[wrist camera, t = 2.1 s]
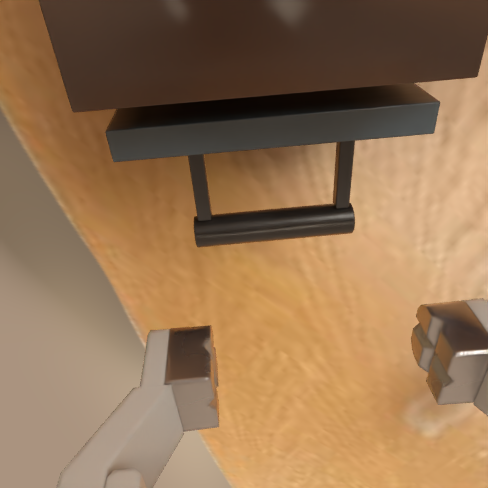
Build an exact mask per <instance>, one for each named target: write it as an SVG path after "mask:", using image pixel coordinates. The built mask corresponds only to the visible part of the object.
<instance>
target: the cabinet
mask: <svg viewBox="0 0 488 488" xmlns="http://www.w3.org/2000/svg"><path fill="white" fill-rule="evenodd" d="M39 3H40V6H41V10H42V13H43V16H44V20H45V23H46V26H47V29H48V33H49V36H50V39H51V43H52V46H53V49H54V53H55V56H56V59H57V62H58V66H59V69H60V72H61V76H62V79H63V82H64V85H65V89H66V92H67V95H68V99H69V102H70V105H71V108H72V111H73V112H85V111H96V110H108V109H119V108H131V107H142V106H154V105H165V104H177V103H188V102H199V101H211V100H222V99H234V98H245V97H257V96H268V95H280V94H291V93H303V92H314V91H326V90H337V89H348V88H360V87H371V86H383V85H394V84H406V83H417V82H429V81H440V80H452V79H463V78H474V77H477V76H478V72H479V68H480V64H481V60H482V56H483V52H484V48H485V44H486V40H487V36H488V0H39Z"/></svg>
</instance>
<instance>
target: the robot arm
mask: <svg viewBox="0 0 488 488" xmlns="http://www.w3.org/2000/svg"><path fill="white" fill-rule="evenodd" d="M416 317H417V319H418V321H419V324H418V325H417V326H415V327H414V328H413V331H412V336H411V342H412V350H413V354H414V357H415V359H416V361H417V363H418V366H420V367H421V368H422V369H424V370H425V371H427V372H428V377H427V380H426V382H427V384H428V386H429V388H430V390H431V392H432V394H433V396H434V398H435V400H436V402H437V404H438V405H444V404H458V403H471V402H474V405H475V406H476V407H477V408H479V409H480V410H481V411H482V412H483V413H485V414H486V415H487V416H488V301H486V300H484V299H483V298H482V299H472V300H463V301H452V302H443V303H434V304H424V305H421V306H420V307H419V308H418V310H417V314H416ZM217 387H218V367H217V357H216V349H215V347H214V341H213V331H212V326H198V327H184V328H171V329H162V330H150V332H149V334H148V337H147V343H146V350H145V356H144V364H143V369H142V376H141V382H140V387H138V388H133V389H132V390H131V392H130V393H129V394H128V395H127V396H126V397H125V399H124V400H123V401H122V402H121V403H120V404H119V406H118V407H117V408H116V409H115V410H114V411H113V413H112V414H111V415H110V416H109V417H108V418H107V420H106V421H105V422H104V423H103V424H102V425H101V427H100V428H99V429H98V430H97V431H96V432H95V434H94V435H93V436H92V437H91V438H90V439H89V441H88V442H87V443H86V444H85V445H84V446H83V448H82V449H81V450H80V451H79V452H78V453H77V455H76V456H75V457H74V458H73V459H72V460H71V462H70V463H69V464H68V465H67V467H65V469H64V470H63V471H62V472H61V474H60V477H59V481H58V484H57V488H153V486H154V485H155V483H156V481H157V479H158V478H159V476H160V474H161V473H162V471H163V469H164V467H165V466H166V464H167V462H168V461H169V459H170V457H171V455H172V454H173V452H174V450H175V448H176V447H177V445H178V443H179V442H180V440H181V438H182V436H183V435H184V431H191V430H200V429H207V428H215V427H219V400H218V394H217Z"/></svg>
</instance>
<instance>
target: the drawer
mask: <svg viewBox="0 0 488 488" xmlns="http://www.w3.org/2000/svg"><path fill="white" fill-rule="evenodd" d="M439 106H440V101H438V100H437V99H435V98H434V97H433V96H431V95H430V94H428V93H427V92H426V91H424V90H423V89H421V88H420V87H419V86H417V85H416V84H415V83H406V84H394V85H383V86H371V87H360V88H348V89H337V90H326V91H314V92H303V93H291V94H280V95H268V96H257V97H245V98H234V99H222V100H211V101H199V102H188V103H177V104H165V105H154V106H142V107H131V108H119V109H117V110H116V112H115V114H114V116H113V118H112V120H111V122H110V124H109V126H108V127H107V129H106V132H105V133H106V136H107V140H108V144H109V148H110V151H111V155H112V159H113V161H114V162H120V161H132V160H143V159H154V158H165V157H176V156H188V158H189V165H190V172H191V178H192V185H193V191H194V198H195V204H196V211H197V216H195V217H194V233H195V241H196V245H197V247H208V246H219V245H230V244H240V243H251V242H262V241H273V240H283V239H294V238H305V237H316V236H326V235H337V234H348V233H352V232H353V230H354V226H355V217H354V210H353V207H352V205H351V203H349V199H350V188H351V177H352V166H353V155H354V145H355V140H367V139H378V138H389V137H400V136H411V135H423V134H433V133H434V130H435V125H436V121H437V116H438V111H439ZM333 142H337V145H336V161H335V176H334V191H333V203H334V204H324V205H313V206H302V207H291V208H280V209H269V210H258V211H247V212H237V213H226V214H215V215H212V212H211V204H210V197H209V189H208V181H207V173H206V166H205V158H204V154H210V153H221V152H232V151H244V150H255V149H266V148H277V147H288V146H300V145H311V144H322V143H333Z"/></svg>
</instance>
